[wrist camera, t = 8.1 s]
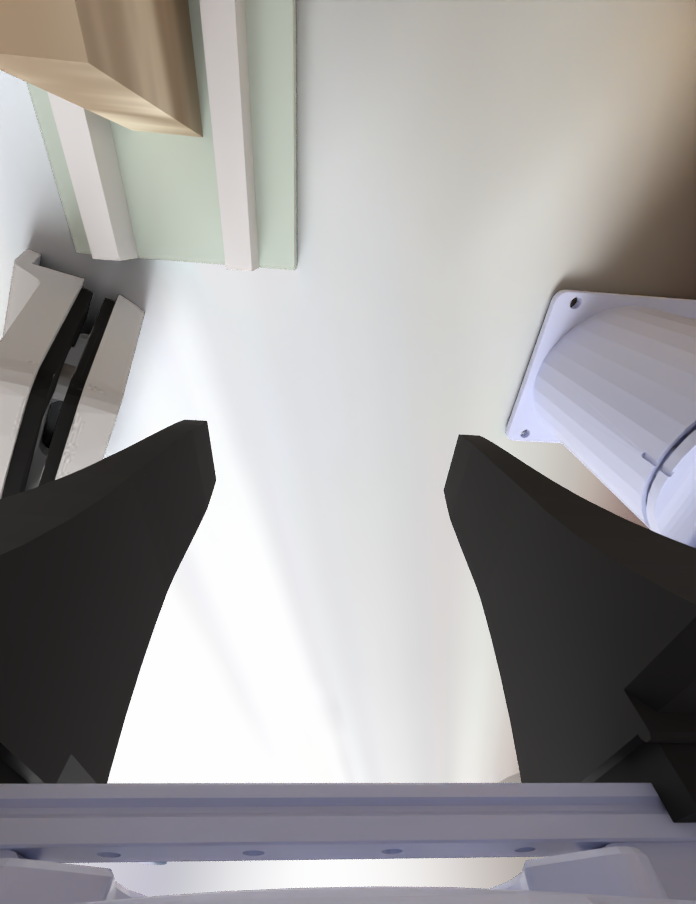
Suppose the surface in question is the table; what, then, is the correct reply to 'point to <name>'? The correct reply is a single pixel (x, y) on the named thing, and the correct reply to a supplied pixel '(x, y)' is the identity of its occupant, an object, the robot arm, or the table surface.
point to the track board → (193, 154)
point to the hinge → (59, 374)
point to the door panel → (108, 58)
